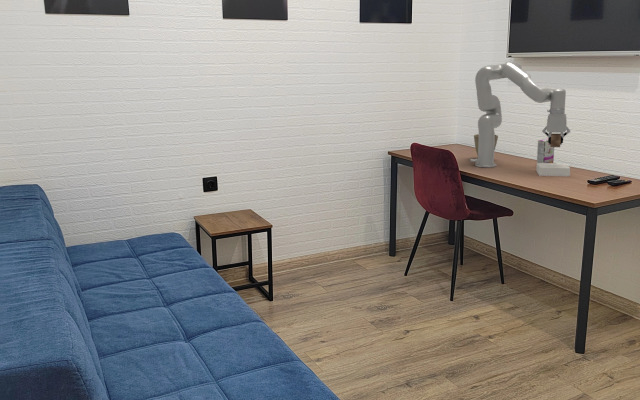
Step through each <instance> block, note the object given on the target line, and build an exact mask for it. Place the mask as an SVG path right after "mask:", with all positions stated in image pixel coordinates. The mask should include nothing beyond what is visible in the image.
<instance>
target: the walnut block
mask: <svg viewBox="0 0 640 400" xmlns="http://www.w3.org/2000/svg"><path fill="white" fill-rule="evenodd" d="M560 143H561V133H553V132H552V133H551V145H550V146H551V147H554V148H561V144H560Z"/></svg>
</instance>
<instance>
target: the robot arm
mask: <svg viewBox="0 0 640 400" xmlns="http://www.w3.org/2000/svg"><path fill="white" fill-rule="evenodd" d="M474 79H475V80H474V81H475V88H476V98H477V106H478V109H479V111H481V112H485V113H484V114H483V115H481V116H480V117H479V118H478V120H477V129H478V134H479V142H478V156H477V158H470V160H469V162H470V163H475V164H474V166H475V167H478V168H495V167H497V163H495V161H494V160H495V151H494V147H495V135H496V133H495V129H498V128H499V127H500V126H501V124H502V121H503V117H502V107H501V105H502V104H501V100H500V98H499V97H498V96H497V95H494V94H493V93H492V87H491V86H492V85H491V84H490V81H494V80H502V79H509V81H510V82H512V83H513V84H515V85H516V86H518V87H519V88H520V90H521V91H522V93H524V95H526V96H527V97H528V98H529V99H531V100H532V101H534V102H536V103H539V104H542V103H547V102H550V105H549V109H546V110H547V111H546V112H547V113H548V114H547V119H546V126H545V127H544V128H543V129H542V131H541V133H543V134H545V136H547V137H548V138H547V139H548V143H549V145H550V144H551V133H552V134H553V133H560V134H561V143H560V146H561V145H562V144H563V143H564V137H566V136H567V135H568V134H570V133H571V130H570V128H569V127H568V126H567V125H568V124H567V123H568V122H567V114H566V113H565V109H566V97H567V95H566V93H567V91H566V89H564V88H547V87H545V88H541V87H539V86H538V85H537V84H535V83H534V82H533V81H532V79H531V75H530V74H529V73H528V72H527V71H526V70H524V69H523V68H522V64H521V63H519V62H518V61H507V62H505V63H499V64H494V65H493V64H491V65H490V64H489V65H485V66H483V67H481V68H480V69H478V71H477V72H476V74H475V78H474ZM495 148H496V147H495Z"/></svg>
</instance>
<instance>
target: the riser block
mask: <svg viewBox="0 0 640 400" xmlns="http://www.w3.org/2000/svg"><path fill="white" fill-rule="evenodd" d="M535 172H536V173H537V175H538V176H539V177H542V176H543V177H544V176H545V177H570V176H571V167H570V166H569V165H568V164H567V163H558V162H557V163H554V162H553V163H537V162H536V170H535Z"/></svg>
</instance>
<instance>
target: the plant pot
mask: <svg viewBox="0 0 640 400" xmlns="http://www.w3.org/2000/svg"><path fill="white" fill-rule="evenodd" d="M498 138H499V135H498V134H495V147H494V152H495V151H496V147H497V143H498ZM473 139H474V146H475V151H476V155H477V157H478V142H479V133H478V134H474V135H473Z"/></svg>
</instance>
